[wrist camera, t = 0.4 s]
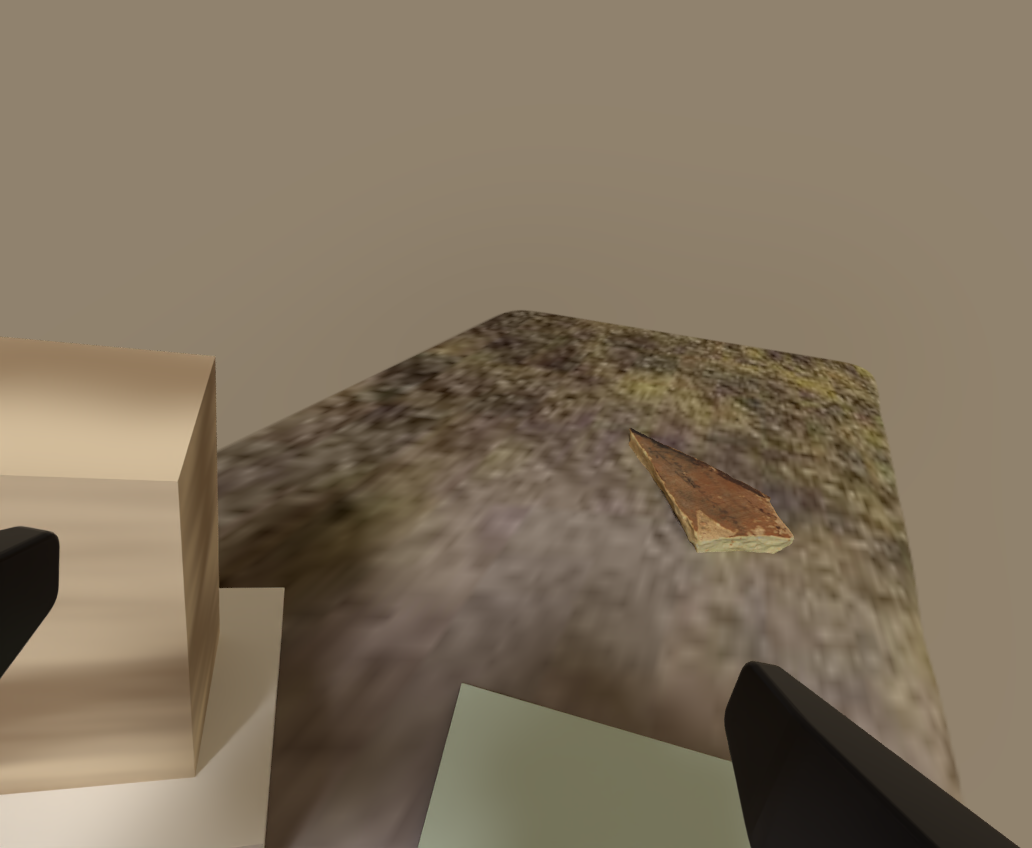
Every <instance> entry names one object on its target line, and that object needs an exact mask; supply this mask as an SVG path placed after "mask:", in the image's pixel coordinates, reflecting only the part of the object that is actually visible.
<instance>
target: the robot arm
mask: <svg viewBox="0 0 1032 848" xmlns="http://www.w3.org/2000/svg"><path fill="white" fill-rule="evenodd" d="M59 558H60V543H59V539H58V536H57V535H56V534H55V533H54V532H52V531H47V530H42V529H37V528H31V527H26V526H16V527H11V528H7V529H3V530H0V679H1V677H2V676H3V675H4V673H5V672H6V671H7V669H8V668H9V667H10V665H11V664H12V662H13V661H14V660H15V658H16V657H17V656H18V654H19V653H20V652H21V650H22V649H23V648H24V646H25V645H26V643H27V642H28V641H29V639H30V638H31V637H32V635H33V634H34V633H35V631H36V630H37V628H38V627H39V626H40V624H41V623H42V622H43V620H44V619H45V618H46V616H47V615H48V614H49V612H50V611H51V609H52V607H53V606H54V604H55V601H56V599H57V595H58V590H59ZM724 722H725V731H726V736H727V740H728V745H729V750H730V755H731V760H732V765H733V770H734V775H735V779H736V784H737V789H738V794H739V799H740V804H741V809H742V813H743V818H744V823H745V827H746V831H747V836H748V840H749V843H750V847H751V848H1020V847H1018V846H1017V845H1016V844H1014V843H1013V842H1012V841H1010V840H1009V839H1008V838H1006V837H1005V836H1004V835H1002V834H1001V833H1000V832H998V831H997V830H996V829H994V828H993V827H992V826H990V825H989V824H988V823H986V822H985V821H984V820H982V819H981V818H980V817H978V816H977V815H976V814H974V813H973V812H972V811H970V810H969V809H968V808H967V807H965V806H964V805H963V804H961V803H960V802H959V801H957V800H956V799H955V798H953V797H952V796H951V795H949V794H948V793H947V792H945V791H944V790H943V789H941V788H940V787H939V786H937V785H936V784H935V783H933V782H932V781H931V780H929V779H928V778H927V777H925V776H924V775H923V774H921V773H920V772H919V771H917V770H916V769H915V768H913V767H912V766H911V765H909V764H908V763H907V762H905V761H904V760H903V759H901V758H900V757H899V756H897V755H896V754H895V753H893V752H892V751H891V750H889V749H888V748H887V747H885V746H884V745H883V744H882V743H880V742H879V741H878V740H876V739H875V738H874V737H872V736H871V735H870V734H868V733H867V732H866V731H864V730H863V729H862V728H860V727H859V726H858V725H856V724H855V723H854V722H852V721H851V720H850V719H848V718H847V717H846V716H844V715H843V714H842V713H840V712H839V711H838V710H836V709H835V708H834V707H832V706H831V705H830V704H828V703H827V702H826V701H824V700H823V699H822V698H820V697H819V696H818V695H816V694H815V693H814V692H812V691H811V690H810V689H808V688H807V687H806V686H804V685H803V684H802V683H800V682H799V681H798V680H796V679H795V678H794V677H792V676H791V675H790V674H789V673H787V672H786V671H785V670H783V669H782V668H780V667H779V666H776V665H772V664H766V663H761V662H755V661H751V662H748V663H746V664H745V665H744V667H743V668H742V670H741V672H740V675H739V677H738V680H737V682H736V685H735V687H734V690H733V692H732V694H731V697H730V699H729V702H728V704H727V707H726V711H725V718H724Z"/></svg>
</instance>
